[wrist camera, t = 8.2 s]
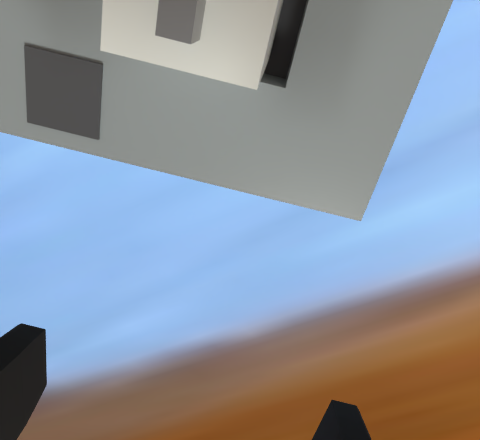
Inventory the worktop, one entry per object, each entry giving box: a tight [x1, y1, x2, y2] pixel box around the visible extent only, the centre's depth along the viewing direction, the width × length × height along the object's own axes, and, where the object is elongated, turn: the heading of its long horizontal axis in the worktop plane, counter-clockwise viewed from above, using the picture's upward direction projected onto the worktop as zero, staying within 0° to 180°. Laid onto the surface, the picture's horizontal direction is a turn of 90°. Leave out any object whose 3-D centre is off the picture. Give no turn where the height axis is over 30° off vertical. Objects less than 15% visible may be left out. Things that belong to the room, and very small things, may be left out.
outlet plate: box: [0, 0, 453, 221], centre depth 14 cm, size 12×16×2 cm
